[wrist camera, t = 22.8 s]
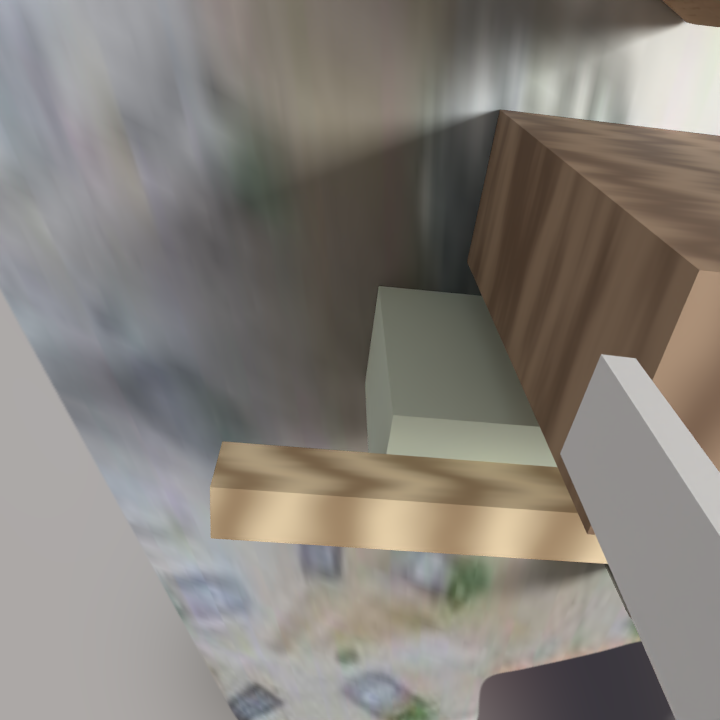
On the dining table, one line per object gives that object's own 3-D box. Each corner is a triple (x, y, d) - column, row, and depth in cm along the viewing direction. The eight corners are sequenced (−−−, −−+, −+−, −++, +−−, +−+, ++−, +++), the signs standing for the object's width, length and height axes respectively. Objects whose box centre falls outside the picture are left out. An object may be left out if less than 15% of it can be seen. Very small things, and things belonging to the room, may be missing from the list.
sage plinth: (364, 383, 58) (372, 534, 42) (378, 285, 53) (393, 414, 37) (531, 397, 59) (600, 549, 43) (561, 303, 54) (650, 435, 38)
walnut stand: (467, 261, 52) (587, 534, 26) (499, 109, 46) (699, 270, 20) (673, 282, 53) (979, 560, 27) (732, 137, 47) (1197, 321, 21)
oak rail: (222, 490, 40) (210, 538, 36) (222, 441, 38) (210, 487, 34) (641, 520, 42) (668, 567, 38) (663, 475, 40) (693, 521, 36)
